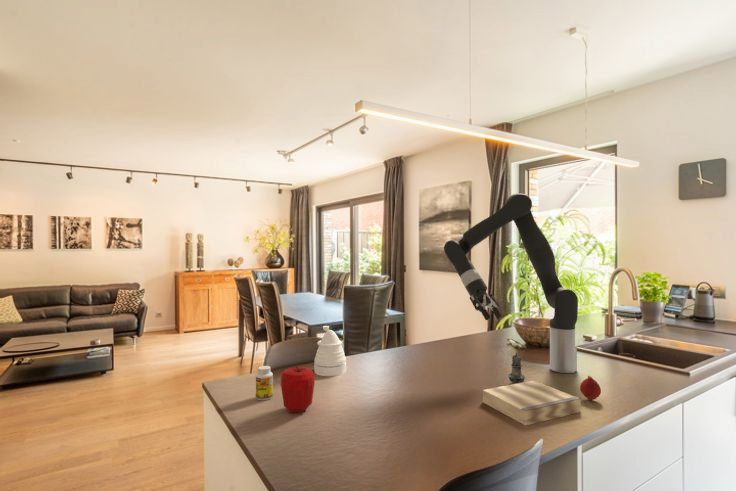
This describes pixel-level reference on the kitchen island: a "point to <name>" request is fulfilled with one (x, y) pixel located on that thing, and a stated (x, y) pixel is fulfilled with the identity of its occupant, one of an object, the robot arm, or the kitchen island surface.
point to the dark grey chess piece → (516, 371)
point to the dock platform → (531, 402)
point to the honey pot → (330, 355)
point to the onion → (590, 388)
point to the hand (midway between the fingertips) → (494, 318)
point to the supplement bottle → (264, 383)
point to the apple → (297, 388)
